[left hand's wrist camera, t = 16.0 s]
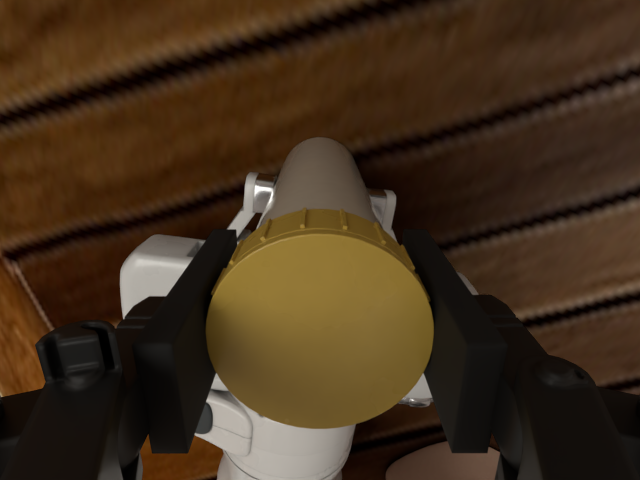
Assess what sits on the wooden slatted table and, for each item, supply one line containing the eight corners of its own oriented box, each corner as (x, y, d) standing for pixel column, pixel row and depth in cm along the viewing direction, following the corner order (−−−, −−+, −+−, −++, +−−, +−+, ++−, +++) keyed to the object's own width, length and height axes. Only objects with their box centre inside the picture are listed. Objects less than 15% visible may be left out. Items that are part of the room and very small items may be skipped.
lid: (444, 228, 11) (469, 257, 9) (388, 395, 13) (399, 447, 11) (235, 185, 11) (218, 207, 9) (209, 365, 13) (191, 413, 11)
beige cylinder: (364, 145, 28) (444, 261, 10) (347, 216, 29) (388, 421, 12) (290, 129, 27) (236, 220, 10) (277, 202, 29) (211, 392, 11)
